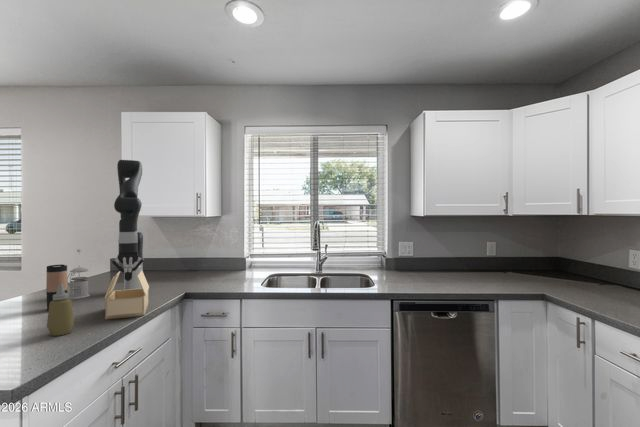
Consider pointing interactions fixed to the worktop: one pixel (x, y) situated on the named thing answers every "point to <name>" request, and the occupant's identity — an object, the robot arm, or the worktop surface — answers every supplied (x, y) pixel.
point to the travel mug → (55, 280)
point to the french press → (78, 284)
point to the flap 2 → (143, 282)
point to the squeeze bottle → (60, 313)
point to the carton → (126, 304)
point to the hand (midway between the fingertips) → (128, 280)
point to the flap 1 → (112, 284)
